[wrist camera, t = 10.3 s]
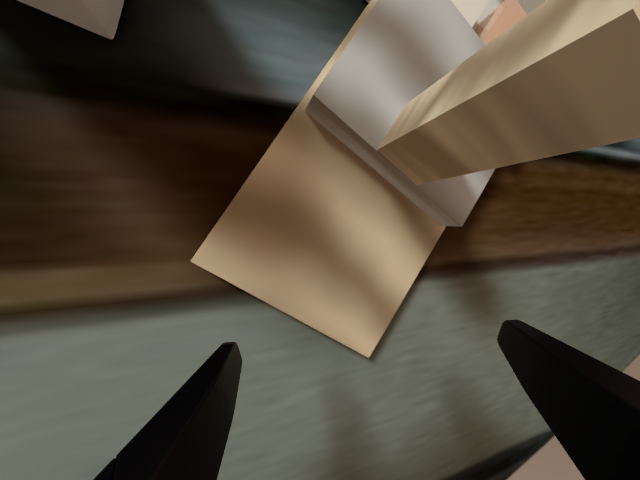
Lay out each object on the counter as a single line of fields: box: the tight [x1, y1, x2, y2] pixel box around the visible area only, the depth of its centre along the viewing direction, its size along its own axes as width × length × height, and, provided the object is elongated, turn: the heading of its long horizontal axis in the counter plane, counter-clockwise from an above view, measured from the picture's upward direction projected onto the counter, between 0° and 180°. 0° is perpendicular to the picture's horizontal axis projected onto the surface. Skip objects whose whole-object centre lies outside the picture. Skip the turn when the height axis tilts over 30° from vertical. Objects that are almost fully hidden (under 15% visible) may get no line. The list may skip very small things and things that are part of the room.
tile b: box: [475, 0, 527, 45], centre depth 18 cm, size 5×5×2 cm
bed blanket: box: [305, 0, 640, 226], centre depth 11 cm, size 11×13×12 cm
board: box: [191, 0, 446, 358], centre depth 17 cm, size 21×14×2 cm, turn 147°
